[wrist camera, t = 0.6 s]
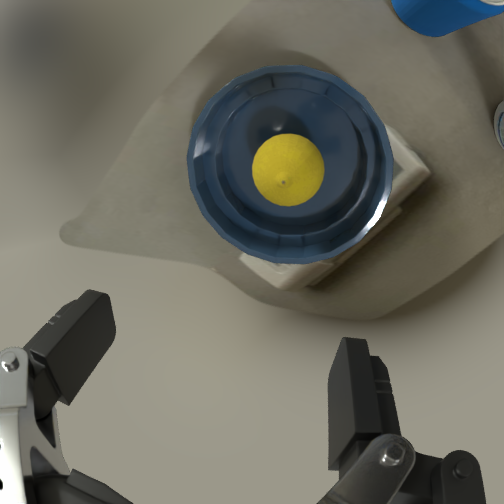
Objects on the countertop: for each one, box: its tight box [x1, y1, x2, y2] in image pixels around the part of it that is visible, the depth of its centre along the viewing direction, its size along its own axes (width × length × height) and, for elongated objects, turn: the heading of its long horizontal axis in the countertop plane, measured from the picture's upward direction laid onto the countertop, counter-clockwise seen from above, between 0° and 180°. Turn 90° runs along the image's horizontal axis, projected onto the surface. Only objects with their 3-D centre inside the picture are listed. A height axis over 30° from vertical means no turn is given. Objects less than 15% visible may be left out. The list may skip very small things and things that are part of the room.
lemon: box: [252, 133, 325, 206], centre depth 23 cm, size 6×6×8 cm
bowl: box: [187, 65, 394, 264], centre depth 25 cm, size 16×16×5 cm
